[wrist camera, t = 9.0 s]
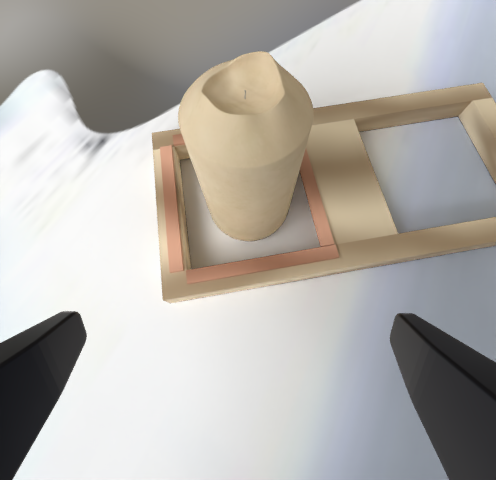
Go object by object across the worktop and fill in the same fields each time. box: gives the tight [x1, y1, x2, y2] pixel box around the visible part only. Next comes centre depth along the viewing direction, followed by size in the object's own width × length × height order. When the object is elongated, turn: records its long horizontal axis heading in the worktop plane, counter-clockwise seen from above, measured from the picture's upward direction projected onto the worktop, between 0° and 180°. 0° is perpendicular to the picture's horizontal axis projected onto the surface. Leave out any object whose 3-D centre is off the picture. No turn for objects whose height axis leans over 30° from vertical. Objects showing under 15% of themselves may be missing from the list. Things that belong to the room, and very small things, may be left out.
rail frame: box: [152, 83, 496, 303], centre depth 19 cm, size 12×25×2 cm, turn 100°
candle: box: [178, 51, 313, 241], centre depth 14 cm, size 6×6×10 cm
